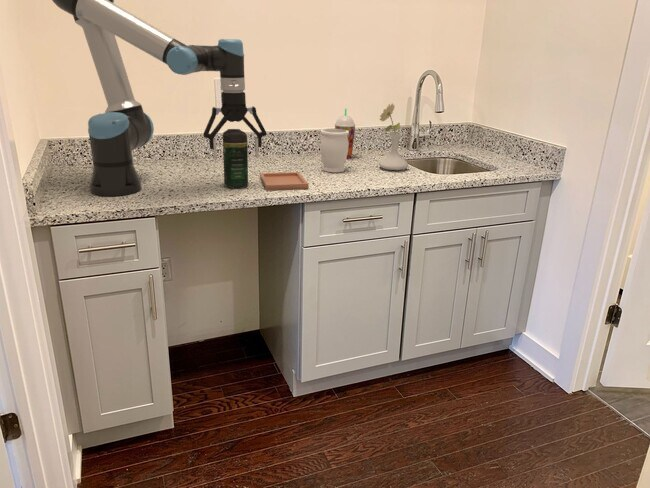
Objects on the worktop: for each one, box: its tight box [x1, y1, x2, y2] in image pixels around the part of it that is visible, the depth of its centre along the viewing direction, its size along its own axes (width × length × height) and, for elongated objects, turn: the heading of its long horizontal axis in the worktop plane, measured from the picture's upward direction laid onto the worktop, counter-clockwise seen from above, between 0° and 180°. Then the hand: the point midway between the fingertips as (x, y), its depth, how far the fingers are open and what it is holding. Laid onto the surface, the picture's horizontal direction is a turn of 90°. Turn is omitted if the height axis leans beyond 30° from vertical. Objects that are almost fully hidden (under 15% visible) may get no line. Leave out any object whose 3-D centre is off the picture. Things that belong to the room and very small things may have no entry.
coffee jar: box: [222, 128, 249, 189], centre depth 176 cm, size 10×8×19 cm
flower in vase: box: [378, 102, 409, 171], centre depth 202 cm, size 13×11×25 cm
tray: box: [259, 171, 309, 192], centre depth 183 cm, size 14×16×2 cm
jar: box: [319, 128, 349, 174], centre depth 200 cm, size 11×10×15 cm
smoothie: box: [334, 108, 356, 160], centre depth 220 cm, size 8×8×20 cm
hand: (236, 158), depth 176 cm, fingers open, 13 cm apart
